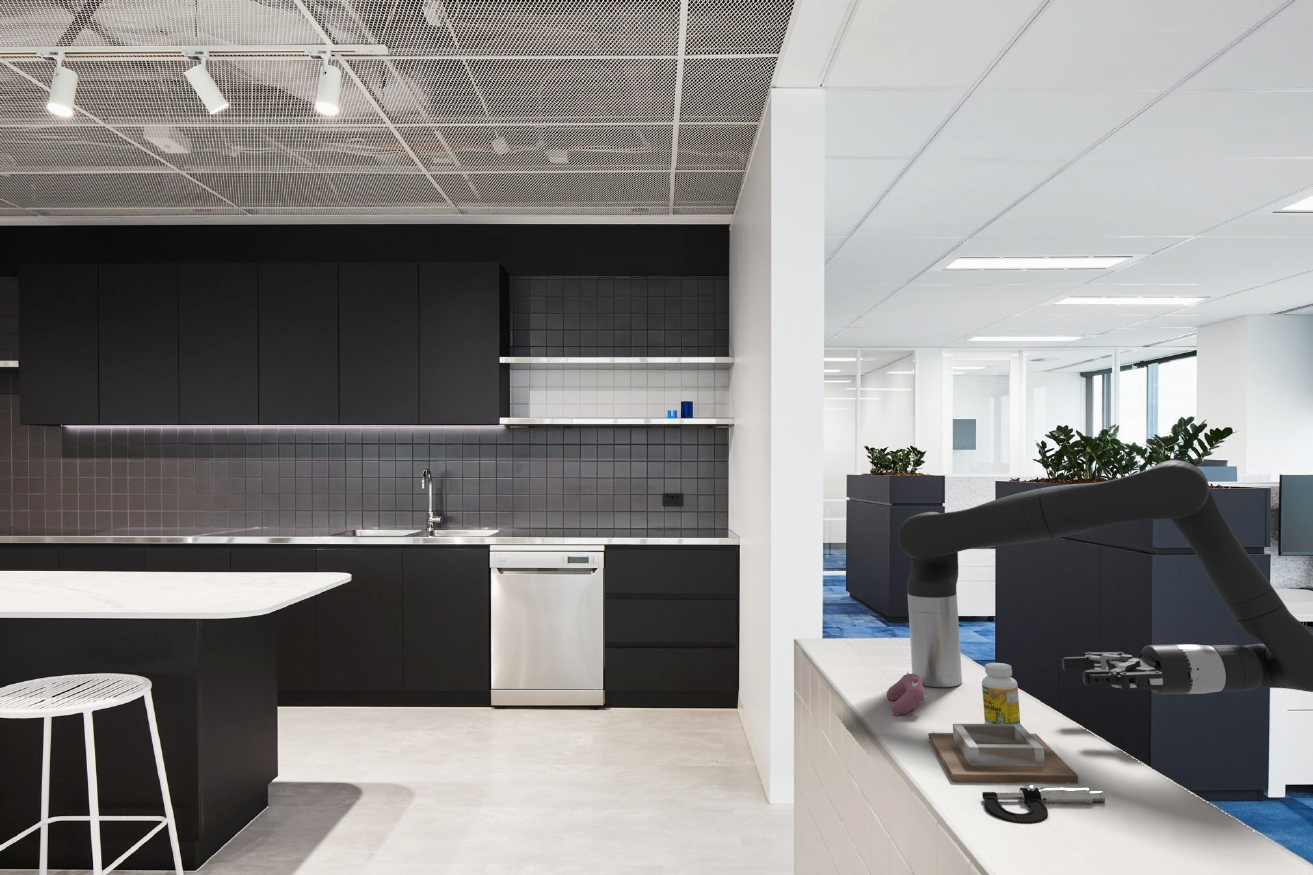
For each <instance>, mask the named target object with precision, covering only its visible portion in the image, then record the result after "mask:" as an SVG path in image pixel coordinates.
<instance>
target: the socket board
mask: <svg viewBox="0 0 1313 875" xmlns="http://www.w3.org/2000/svg"><path fill="white" fill-rule="evenodd" d="M952 731H953V732H945V733H944V732H928V734H927V735H928V741H929V740H930V741H929V742H930V744H931V746H932V747H934V748H933V749H934V751H935V752H936V754H937V756H938V758H939V760H940V761H941V763H942V764H943V766H944V767H945V768H944V769H946V773H948V775H949V777H950V779H951V780H952V782H953V783H954V782H957V783H958V782H959V783H961V782H962V783H963V782H965V783H1016V784H1017V783H1024V784H1025V783H1027V784H1031V783H1032V784H1037V783H1038V784H1079V775H1078V774H1077V773H1076V772H1075V771H1074V770H1073V769H1072V768H1071V767H1070V766H1069V765H1068V764H1067V763H1066V762H1065V761H1064V760H1063V758H1061V757H1060V756H1059V755H1058V754H1057V753H1056V752H1055V751H1054V750H1053V749H1052V748H1051V747H1050V746H1049V744H1047V743H1046V741H1044V739H1042V738H1041V736H1040V735H1038V734H1037V733H1030V732H1029V731H1028V730H1027V729H1026V728H1025V727H1024V726H1023V725H1022V724H1021V723H1020V724H986V723H952Z"/></svg>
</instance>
